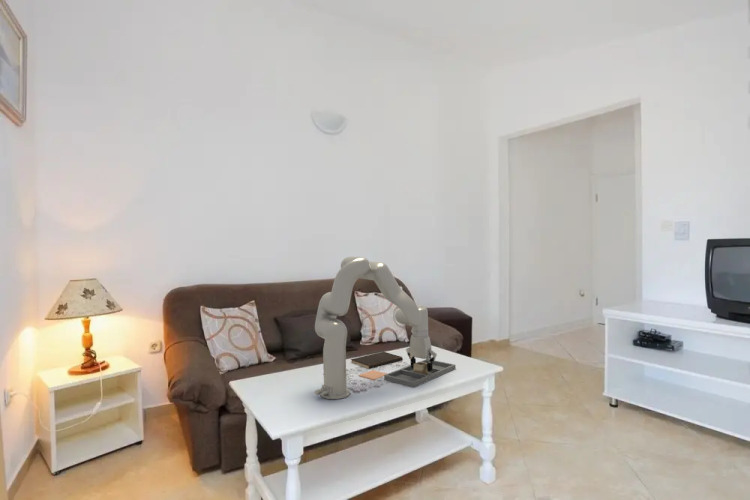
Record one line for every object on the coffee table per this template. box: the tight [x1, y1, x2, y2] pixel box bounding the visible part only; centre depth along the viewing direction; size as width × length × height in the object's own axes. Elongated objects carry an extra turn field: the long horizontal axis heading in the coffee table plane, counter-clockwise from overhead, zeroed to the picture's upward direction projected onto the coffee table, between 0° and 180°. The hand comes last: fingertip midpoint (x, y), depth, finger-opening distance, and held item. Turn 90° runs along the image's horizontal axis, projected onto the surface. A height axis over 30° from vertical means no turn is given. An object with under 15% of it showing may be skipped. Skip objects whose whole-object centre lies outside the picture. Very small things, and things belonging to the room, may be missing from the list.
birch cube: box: [414, 361, 428, 375], centre depth 197 cm, size 5×5×5 cm
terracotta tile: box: [358, 369, 388, 381], centre depth 197 cm, size 10×10×1 cm
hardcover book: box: [350, 351, 404, 370], centre depth 221 cm, size 16×23×2 cm
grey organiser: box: [383, 359, 457, 389], centre depth 197 cm, size 34×17×2 cm, turn 137°
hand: (421, 368), depth 197 cm, fingers open, 9 cm apart
